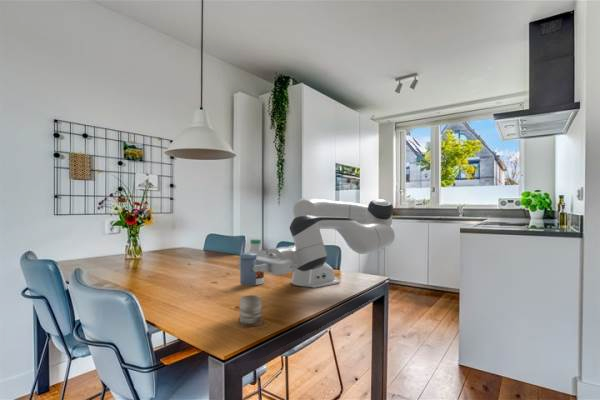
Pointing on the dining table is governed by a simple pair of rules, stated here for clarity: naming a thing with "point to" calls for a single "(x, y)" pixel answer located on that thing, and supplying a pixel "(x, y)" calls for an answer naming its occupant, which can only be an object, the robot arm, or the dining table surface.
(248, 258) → the blue canister
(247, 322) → the stand
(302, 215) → the robot arm
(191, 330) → the dining table surface
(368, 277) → the dining table surface
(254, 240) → the milk bottle
